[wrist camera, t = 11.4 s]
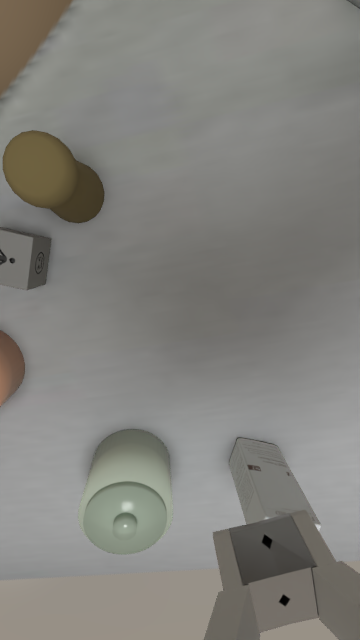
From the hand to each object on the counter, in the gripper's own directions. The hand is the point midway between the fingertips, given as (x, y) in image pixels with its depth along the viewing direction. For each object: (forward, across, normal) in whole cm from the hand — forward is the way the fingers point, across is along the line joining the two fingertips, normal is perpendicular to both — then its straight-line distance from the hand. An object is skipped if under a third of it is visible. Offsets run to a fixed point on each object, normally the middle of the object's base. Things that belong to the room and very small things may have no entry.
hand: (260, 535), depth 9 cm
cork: (+27, +8, -16) cm, 33 cm away
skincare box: (+27, -5, +20) cm, 34 cm away
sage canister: (+27, +11, +17) cm, 34 cm away
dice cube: (+27, +15, -11) cm, 33 cm away
